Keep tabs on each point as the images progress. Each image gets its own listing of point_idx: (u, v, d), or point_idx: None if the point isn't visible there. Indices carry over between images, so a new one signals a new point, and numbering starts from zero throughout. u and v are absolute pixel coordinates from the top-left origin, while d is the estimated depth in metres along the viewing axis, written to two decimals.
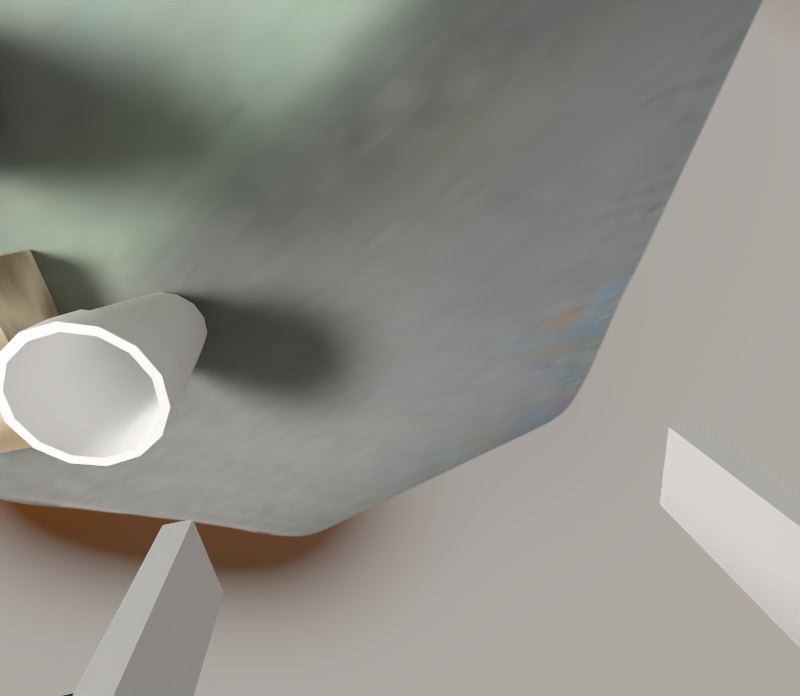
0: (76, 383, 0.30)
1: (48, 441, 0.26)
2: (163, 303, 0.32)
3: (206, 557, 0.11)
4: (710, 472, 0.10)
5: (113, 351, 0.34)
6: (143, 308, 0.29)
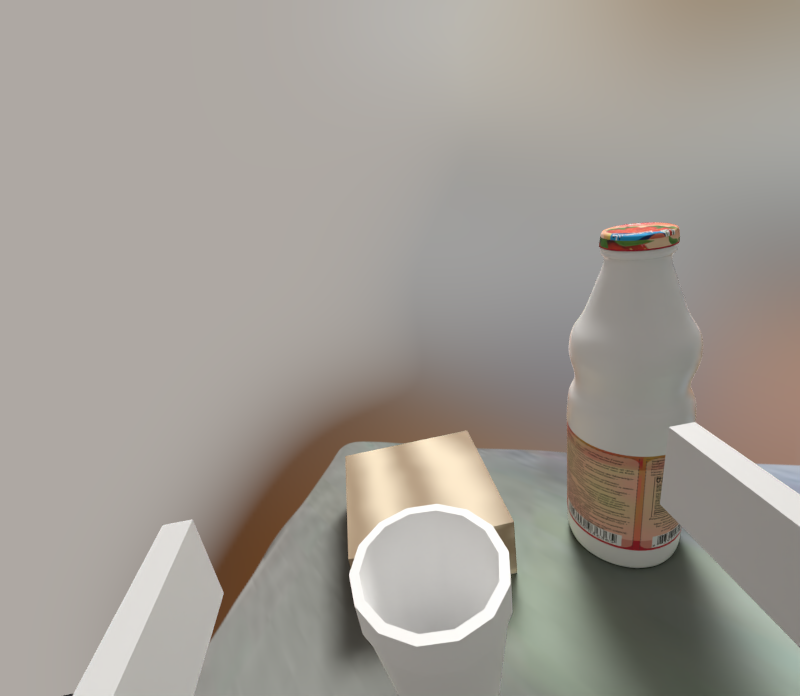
0: (417, 574, 0.30)
1: (382, 533, 0.28)
2: (499, 683, 0.27)
3: (206, 557, 0.11)
4: (710, 472, 0.10)
5: (432, 621, 0.32)
6: (504, 649, 0.26)
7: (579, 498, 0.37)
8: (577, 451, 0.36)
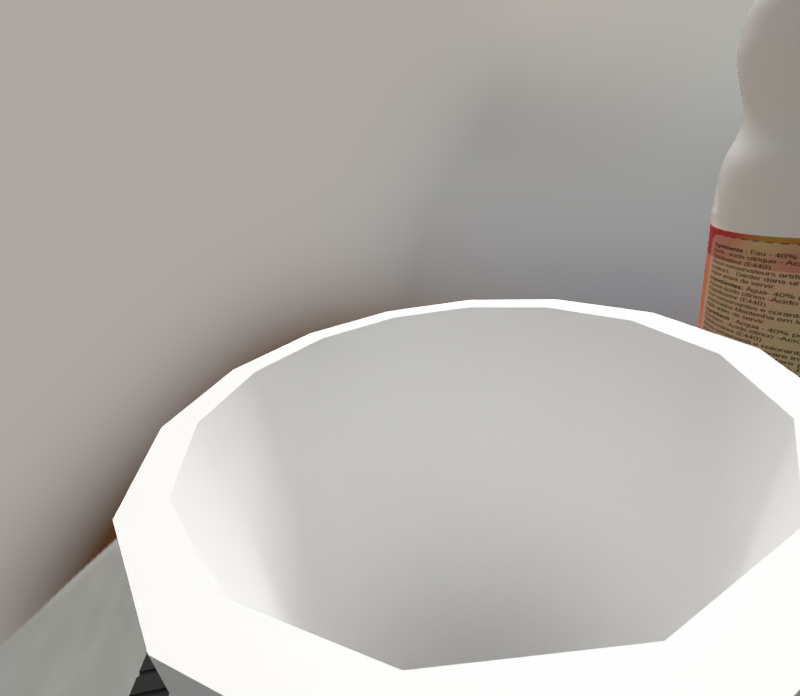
0: (412, 494, 0.12)
1: (314, 354, 0.10)
2: None
3: None
4: None
5: (447, 618, 0.13)
6: None
7: None
8: (750, 274, 0.17)
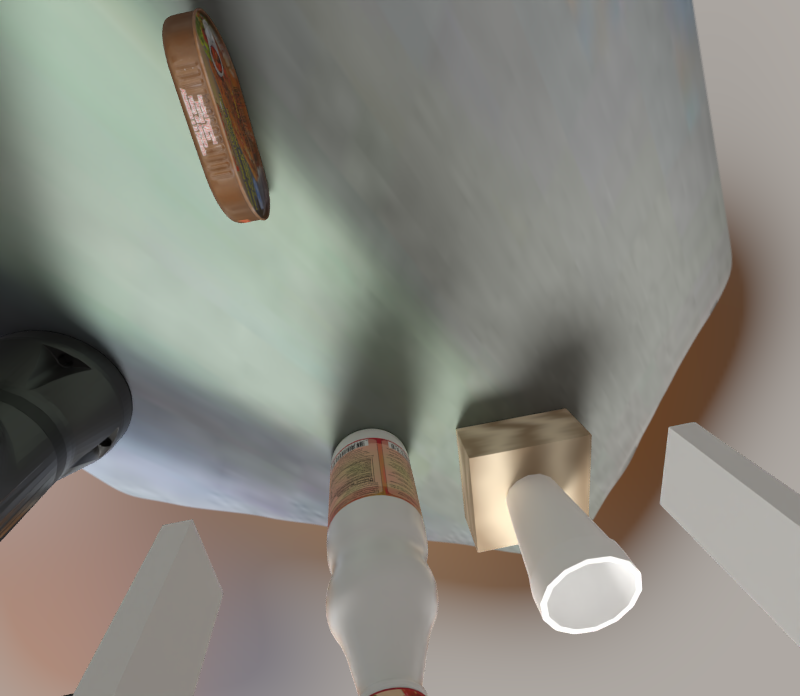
0: (571, 575, 0.44)
1: (614, 612, 0.39)
2: (520, 512, 0.45)
3: (206, 557, 0.11)
4: (710, 472, 0.10)
5: None
6: (527, 535, 0.42)
7: (412, 476, 0.47)
8: (420, 509, 0.43)
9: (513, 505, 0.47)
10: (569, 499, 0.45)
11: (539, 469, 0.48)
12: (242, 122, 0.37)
